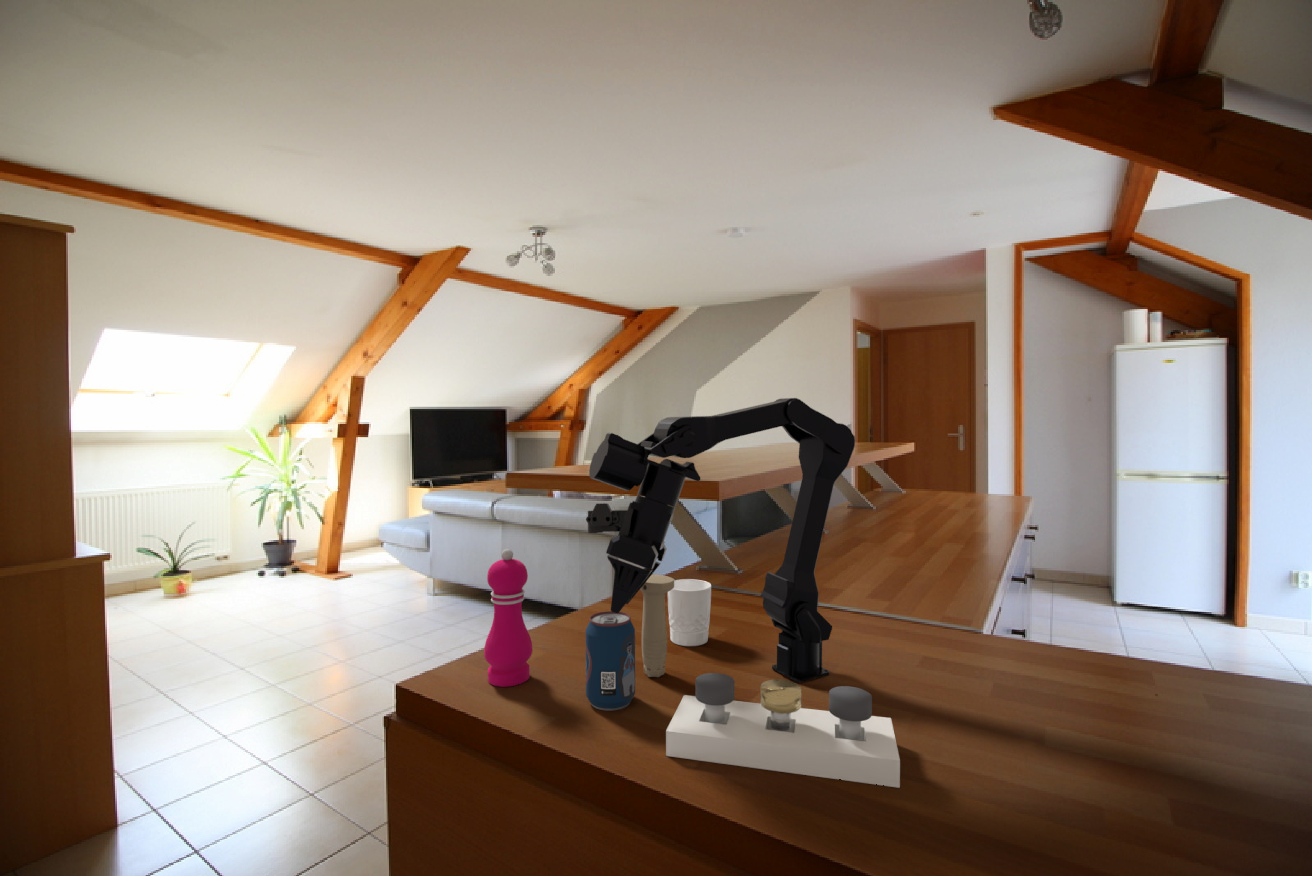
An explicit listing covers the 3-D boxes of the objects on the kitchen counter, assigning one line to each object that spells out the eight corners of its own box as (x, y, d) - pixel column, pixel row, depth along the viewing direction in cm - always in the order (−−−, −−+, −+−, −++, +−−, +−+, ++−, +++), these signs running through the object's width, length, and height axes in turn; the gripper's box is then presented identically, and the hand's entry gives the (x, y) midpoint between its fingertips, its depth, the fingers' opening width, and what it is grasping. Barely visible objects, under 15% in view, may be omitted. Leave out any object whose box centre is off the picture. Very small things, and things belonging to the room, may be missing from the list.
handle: (662, 684, 96) (661, 585, 95) (628, 674, 100) (627, 578, 99) (680, 674, 100) (679, 578, 99) (647, 664, 104) (646, 572, 103)
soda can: (589, 690, 94) (588, 609, 94) (636, 691, 94) (636, 609, 93) (582, 712, 87) (581, 625, 87) (633, 713, 87) (633, 625, 86)
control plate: (890, 742, 79) (890, 718, 79) (899, 787, 69) (899, 760, 69) (684, 717, 86) (684, 695, 86) (666, 755, 76) (666, 730, 76)
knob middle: (801, 719, 79) (802, 681, 79) (800, 738, 74) (800, 698, 74) (762, 714, 80) (762, 677, 80) (758, 733, 76) (758, 693, 76)
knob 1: (736, 711, 81) (737, 675, 81) (731, 729, 77) (731, 691, 76) (699, 707, 82) (699, 671, 82) (692, 725, 78) (691, 686, 78)
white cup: (660, 644, 113) (660, 588, 112) (676, 630, 120) (676, 577, 120) (703, 650, 110) (703, 592, 110) (716, 635, 117) (716, 581, 117)
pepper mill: (542, 673, 100) (540, 546, 99) (513, 692, 94) (511, 556, 93) (504, 666, 103) (503, 542, 102) (474, 683, 97) (472, 551, 96)
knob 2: (870, 727, 77) (870, 688, 77) (872, 747, 72) (873, 706, 72) (828, 722, 78) (828, 684, 78) (828, 741, 74) (829, 701, 73)
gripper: (613, 486, 101) (580, 581, 100) (590, 478, 83) (549, 595, 81) (680, 509, 100) (647, 606, 98) (672, 507, 81) (631, 626, 80)
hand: (619, 607), depth 90 cm, fingers open, 9 cm apart
